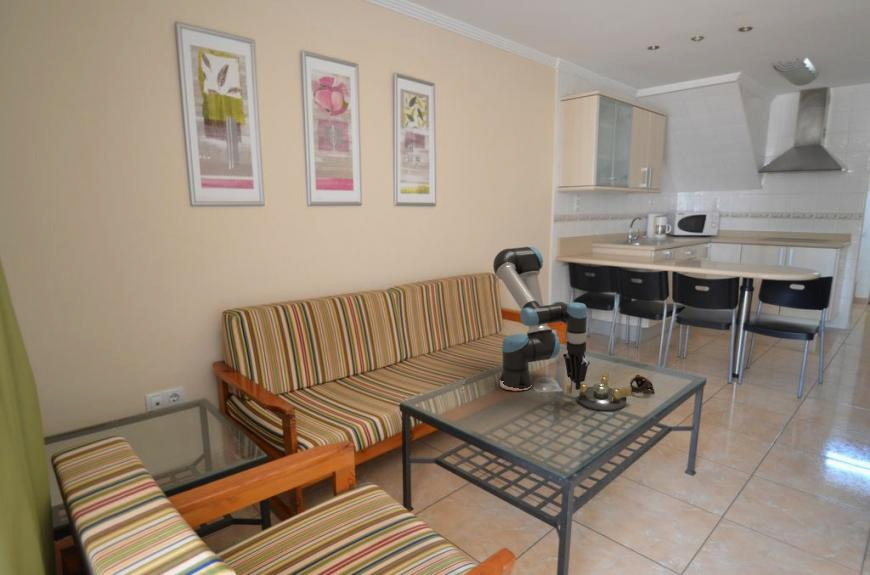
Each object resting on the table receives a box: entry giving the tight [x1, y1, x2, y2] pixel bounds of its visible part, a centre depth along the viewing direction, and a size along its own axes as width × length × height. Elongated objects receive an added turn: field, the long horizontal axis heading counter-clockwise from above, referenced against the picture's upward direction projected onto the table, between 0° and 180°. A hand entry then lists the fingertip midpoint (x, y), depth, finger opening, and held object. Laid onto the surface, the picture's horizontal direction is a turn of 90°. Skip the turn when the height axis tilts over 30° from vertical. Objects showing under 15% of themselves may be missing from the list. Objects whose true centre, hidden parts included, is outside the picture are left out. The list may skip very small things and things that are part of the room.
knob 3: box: [612, 385, 632, 403], centre depth 193 cm, size 8×3×5 cm, turn 109°
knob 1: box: [566, 383, 588, 397], centre depth 199 cm, size 8×3×5 cm, turn 91°
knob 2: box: [600, 371, 610, 386], centre depth 208 cm, size 8×3×5 cm, turn 151°
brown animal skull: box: [629, 374, 655, 394], centre depth 206 cm, size 12×10×8 cm
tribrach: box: [575, 382, 627, 412], centre depth 199 cm, size 20×20×7 cm
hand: (575, 395), depth 196 cm, fingers closed
